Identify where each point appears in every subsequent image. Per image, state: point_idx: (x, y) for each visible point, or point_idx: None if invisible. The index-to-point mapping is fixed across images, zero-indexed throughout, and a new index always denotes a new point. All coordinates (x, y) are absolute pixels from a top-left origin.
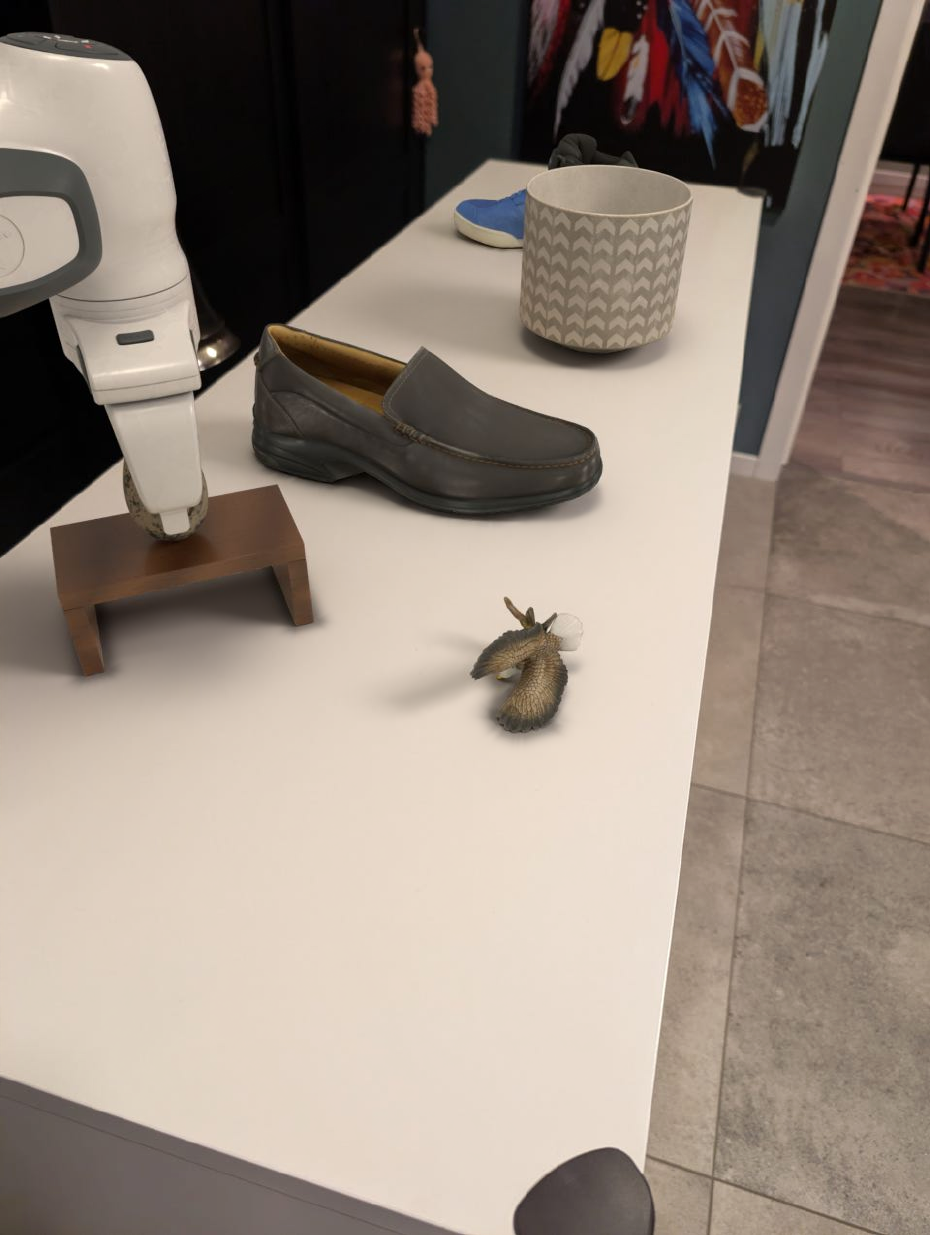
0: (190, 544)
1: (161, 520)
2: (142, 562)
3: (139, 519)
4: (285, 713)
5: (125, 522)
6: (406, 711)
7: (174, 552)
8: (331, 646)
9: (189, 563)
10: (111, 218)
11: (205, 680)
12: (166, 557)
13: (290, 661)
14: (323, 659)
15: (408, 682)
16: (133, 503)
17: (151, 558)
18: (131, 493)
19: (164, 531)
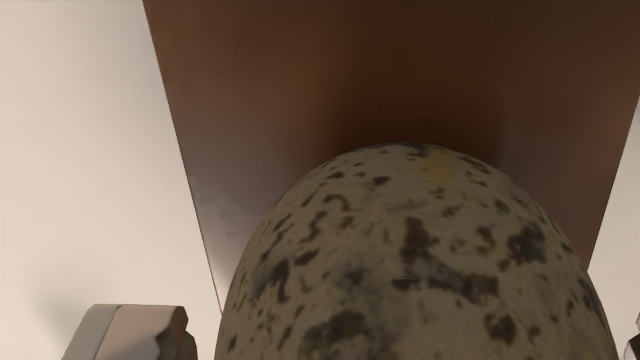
0: None
1: (78, 352)
2: (255, 83)
3: (282, 209)
4: (37, 167)
5: (573, 44)
6: (41, 308)
7: (289, 184)
8: (206, 260)
9: (216, 214)
10: None
11: (142, 46)
12: (266, 159)
13: (177, 198)
14: (174, 243)
15: None
16: (288, 263)
17: (273, 114)
18: (291, 311)
19: (88, 310)
